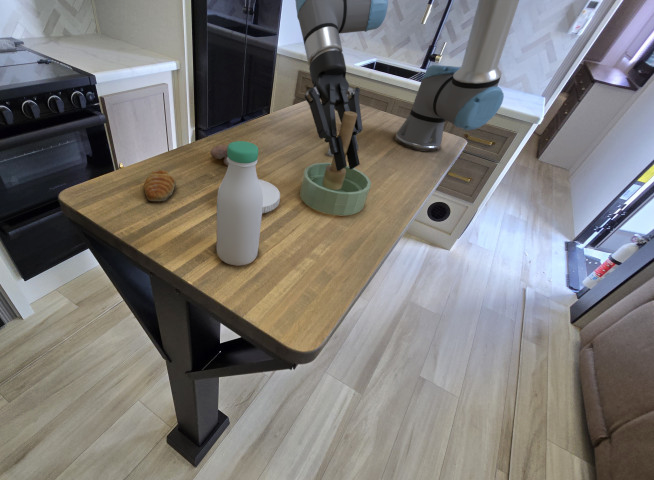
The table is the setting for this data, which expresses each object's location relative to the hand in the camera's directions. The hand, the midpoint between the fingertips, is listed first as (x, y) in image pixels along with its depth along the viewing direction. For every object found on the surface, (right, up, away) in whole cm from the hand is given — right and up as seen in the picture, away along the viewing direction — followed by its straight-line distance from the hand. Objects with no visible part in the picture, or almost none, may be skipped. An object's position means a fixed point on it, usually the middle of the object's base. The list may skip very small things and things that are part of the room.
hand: (348, 167), depth 73 cm
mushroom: (-29, +8, +18) cm, 35 cm away
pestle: (-2, -2, +7) cm, 7 cm away
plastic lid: (-22, -7, +3) cm, 23 cm away
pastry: (-42, -5, +3) cm, 43 cm away
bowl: (-2, -5, +8) cm, 10 cm away
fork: (+6, +20, +35) cm, 41 cm away
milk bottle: (-24, -21, -11) cm, 33 cm away
